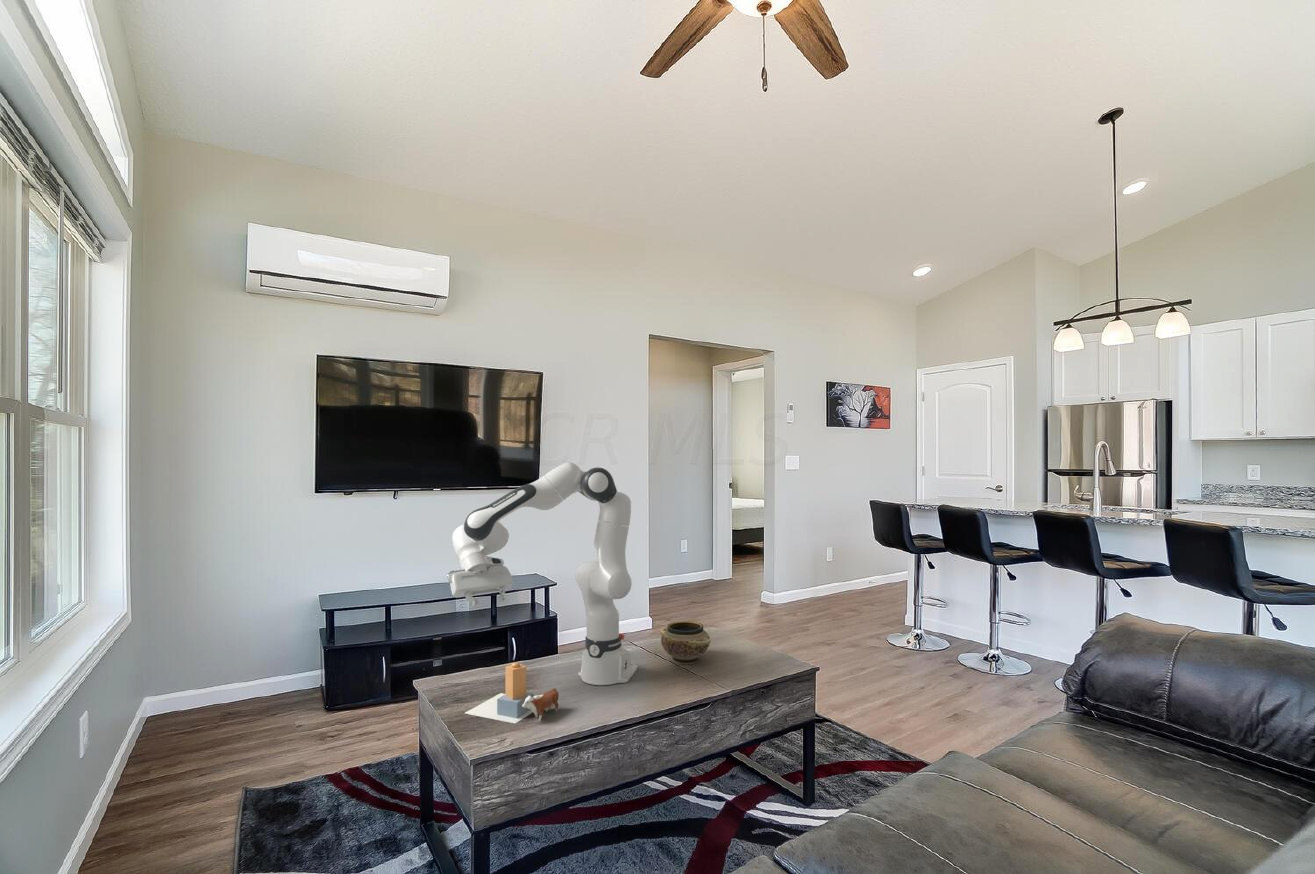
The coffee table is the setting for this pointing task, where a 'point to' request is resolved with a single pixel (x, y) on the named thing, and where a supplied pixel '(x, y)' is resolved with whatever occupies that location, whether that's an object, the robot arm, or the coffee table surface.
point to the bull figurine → (542, 702)
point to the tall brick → (515, 681)
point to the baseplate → (493, 711)
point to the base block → (512, 706)
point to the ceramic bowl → (685, 641)
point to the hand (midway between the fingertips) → (489, 602)
